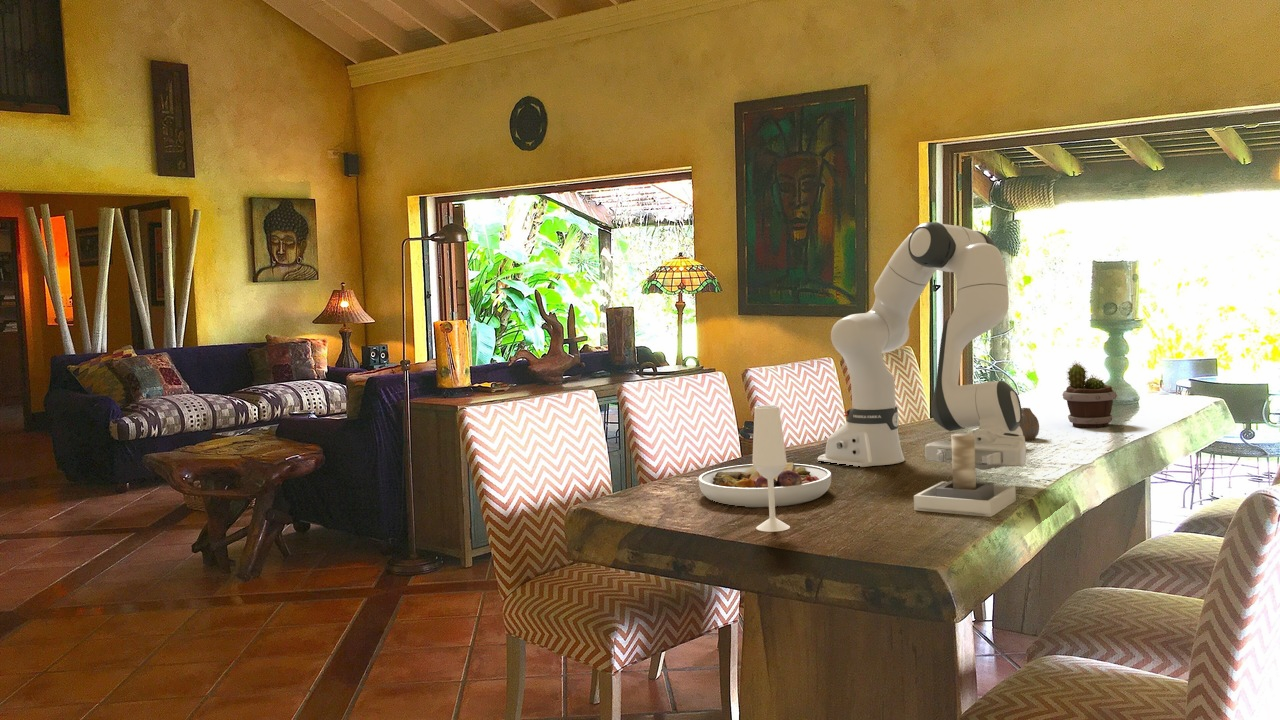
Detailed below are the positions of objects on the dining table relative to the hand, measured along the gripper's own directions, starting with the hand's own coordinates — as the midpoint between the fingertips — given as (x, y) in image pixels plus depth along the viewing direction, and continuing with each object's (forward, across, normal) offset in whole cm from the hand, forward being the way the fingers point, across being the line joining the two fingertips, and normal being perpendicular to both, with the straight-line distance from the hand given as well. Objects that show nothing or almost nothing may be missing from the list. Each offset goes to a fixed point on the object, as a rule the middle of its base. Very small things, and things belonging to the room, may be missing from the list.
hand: (962, 459), depth 204 cm
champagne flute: (+31, -27, +10) cm, 42 cm away
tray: (-1, 0, +10) cm, 10 cm away
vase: (-87, -13, +10) cm, 88 cm away
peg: (-1, 0, +9) cm, 9 cm away
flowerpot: (-116, -3, +10) cm, 116 cm away
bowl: (+5, -44, +10) cm, 45 cm away
